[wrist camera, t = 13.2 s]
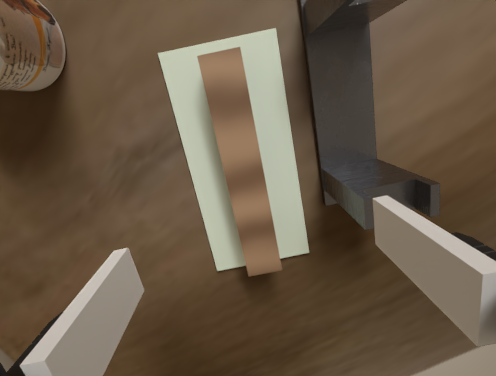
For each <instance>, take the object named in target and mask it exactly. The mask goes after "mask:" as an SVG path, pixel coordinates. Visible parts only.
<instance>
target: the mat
mask: <svg viewBox="0 0 496 376" xmlns="http://www.w3.org/2000/svg"><path fill="white" fill-rule="evenodd" d="M236 47H240V49H241V54H242V59H243V65H244V70H245V75H246V80H247V86H248V91H249V96H250V102H251V107H252V112H253V118H254V123H255V128H256V134H257V139H258V144H259V150H260V155H261V160H262V165H263V171H264V176H265V181H266V187H267V192H268V197H269V203H270V208H271V213H272V219H273V224H274V229H275V235H276V240H277V245H278V250H279V256H280V259H281V258H285V257H290V256H295V255H300V254H305V253H309V248H308V241H307V234H306V228H305V221H304V214H303V207H302V201H301V194H300V187H299V181H298V174H297V167H296V161H295V154H294V147H293V141H292V134H291V127H290V121H289V114H288V107H287V100H286V94H285V87H284V80H283V74H282V67H281V60H280V54H279V47H278V40H277V34H276V28H274V29H269V30H264V31H260V32H255V33H250V34H246V35H241V36H236V37H232V38H227V39H222V40H218V41H213V42H208V43H204V44H199V45H194V46H190V47H185V48H180V49H176V50H171V51H166V52H162V53H158V56H159V59H160V63H161V67H162V70H163V74H164V78H165V81H166V85H167V89H168V92H169V96H170V100H171V103H172V107H173V111H174V114H175V118H176V122H177V125H178V129H179V132H180V136H181V140H182V143H183V147H184V151H185V154H186V158H187V162H188V165H189V169H190V173H191V176H192V180H193V184H194V187H195V191H196V195H197V198H198V202H199V206H200V209H201V213H202V217H203V220H204V224H205V228H206V231H207V235H208V239H209V242H210V246H211V250H212V253H213V257H214V261H215V264H216V268H217V271H221V270H226V269H231V268H236V267H241V266H246V263H245V259H244V254H243V250H242V246H241V242H240V237H239V233H238V229H237V225H236V220H235V216H234V212H233V207H232V203H231V199H230V195H229V190H228V186H227V182H226V177H225V173H224V169H223V165H222V160H221V156H220V152H219V148H218V143H217V139H216V135H215V130H214V126H213V122H212V118H211V113H210V109H209V105H208V101H207V96H206V92H205V88H204V83H203V79H202V75H201V71H200V66H199V62H198V58H197V56H199V55H204V54H208V53H213V52H218V51H222V50H227V49H232V48H236Z"/></svg>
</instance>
